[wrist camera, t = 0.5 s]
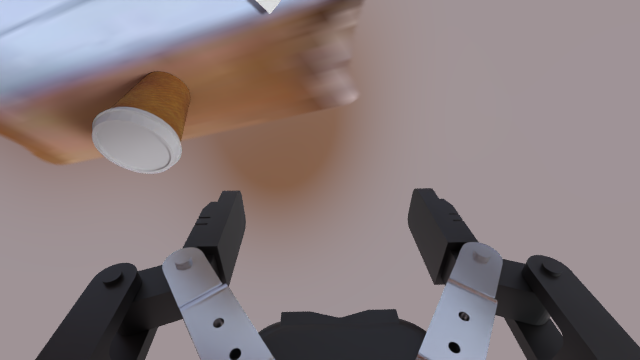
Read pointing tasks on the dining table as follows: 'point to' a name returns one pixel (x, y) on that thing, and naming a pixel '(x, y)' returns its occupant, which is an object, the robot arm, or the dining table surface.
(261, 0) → the board
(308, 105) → the dining table surface
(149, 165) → the disposable coffee cup
